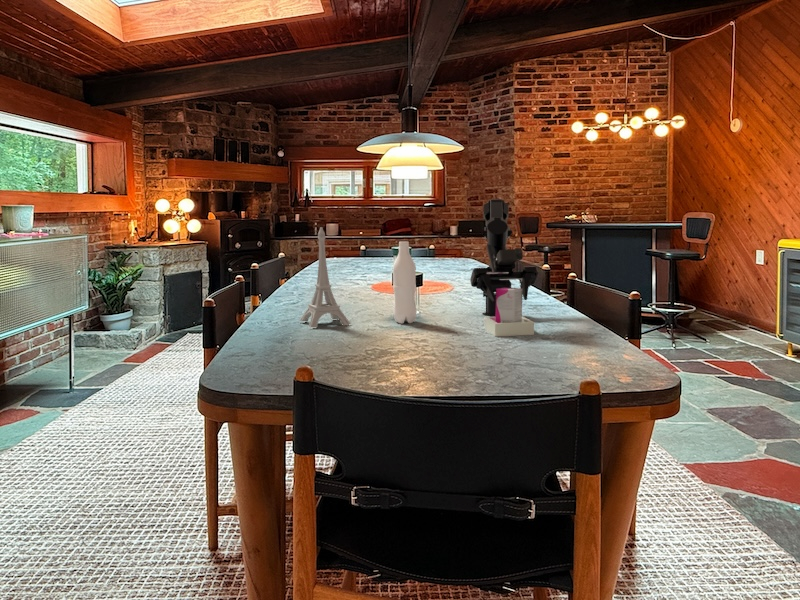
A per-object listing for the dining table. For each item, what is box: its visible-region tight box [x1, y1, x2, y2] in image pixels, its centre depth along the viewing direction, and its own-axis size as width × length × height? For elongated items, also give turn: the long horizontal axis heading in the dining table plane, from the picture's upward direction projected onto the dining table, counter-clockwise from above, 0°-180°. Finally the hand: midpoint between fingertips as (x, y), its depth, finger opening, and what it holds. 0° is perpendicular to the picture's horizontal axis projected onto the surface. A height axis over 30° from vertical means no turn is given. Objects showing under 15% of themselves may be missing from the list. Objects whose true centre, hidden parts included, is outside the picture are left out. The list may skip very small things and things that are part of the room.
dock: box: [483, 315, 535, 337], centre depth 180 cm, size 11×11×4 cm
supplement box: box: [495, 287, 523, 323], centre depth 179 cm, size 6×6×12 cm
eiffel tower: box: [299, 226, 351, 327], centre depth 195 cm, size 13×13×30 cm
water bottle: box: [392, 240, 417, 324], centre depth 196 cm, size 7×7×25 cm
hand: (510, 299), depth 177 cm, fingers open, 9 cm apart
